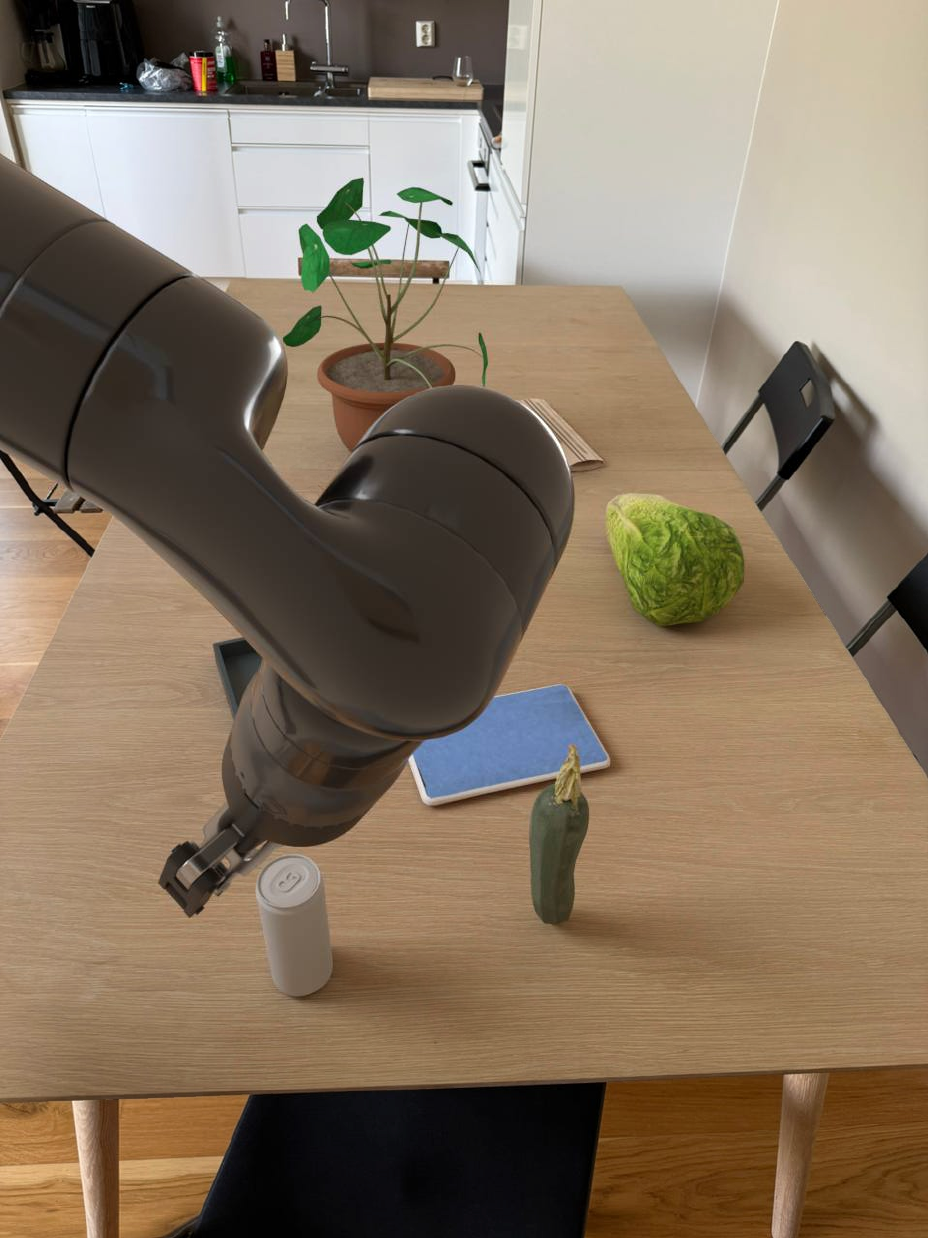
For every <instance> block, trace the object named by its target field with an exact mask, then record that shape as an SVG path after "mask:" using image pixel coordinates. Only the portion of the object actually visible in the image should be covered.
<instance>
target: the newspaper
mask: <svg viewBox="0 0 928 1238" xmlns="http://www.w3.org/2000/svg"><path fill="white" fill-rule="evenodd" d="M519 401H520V402H521V403H523V404H524V405H526V406H527V407H529V408H530V409H531V410H532V411H533V412H535V413H536V414H537V415H538V416H539V417H540V418H541V419H542V420H543V421H544V422H545V423H546V424H547V426H548V427H549V428H550V430H551V431H552V432H553V434H554V435H555V437H556V438H557V440H558V442H559V443H560V445H561V447H562V449H563V451H564V454H565V456H566V458H567V461H568V464H569V466H570V470H571V472H581V471H583V472H584V471H589V470H595V469H598V468H601V467H602V466H604V465H605V461H604V460H603V459H602V458H601V456H599V455H598V453H597V452H596V451H595V450H594V449H592V447H591V446H590V445H589V444H588V443H587V442H586V441H585V440H584V439H583V438H582V437H581V436H580V435H579V434H578V433H577V432H576V431H575V430H574V429H573V428H572V427H571V426H570V425H569V424H568V423H567V421H565V420H564V419H563V418H562V417H561V415H559V413H558V412H556V411H555V409H553V408H552V407H551V406H550V405H549V404H548V403H547V401H546V400H545V399H542V398H525V399H521V400H519Z"/></svg>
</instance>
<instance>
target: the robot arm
mask: <svg viewBox="0 0 928 1238" xmlns="http://www.w3.org/2000/svg"><path fill="white" fill-rule="evenodd" d="M285 349H286V348H285V346H284V343H283V341H282V339H280V337H279V335H278V334H277V332H276V331H275V330H274V329H273V328H272V326H271V325H270V324H269V323H268V322H267V321H266V320H265V319H264V318H262V316H260V315H259V314H258V313H256V312H255V311H254V310H252V309H251V308H250V307H248V306H247V305H246V304H245V303H243V302H241V301H240V300H238V299H236V297H233V296H232V295H231V294H229V293H228V292H226V291H225V290H223V289H221V288H220V287H218V286H217V285H215V284H214V283H211V282H210V281H208V280H207V279H205V278H203V277H201V275H198V274H197V273H195V272H194V271H192V270H190V269H189V268H187V267H185V266H183V265H182V264H180V263H179V262H177V261H175V260H173V258H170V257H169V256H167V255H165V254H164V253H162V252H161V251H159V250H157V249H156V248H154V247H153V246H150V245H149V244H148V243H146V242H144V241H143V240H141V239H139V238H138V237H136V236H134V234H131V233H130V232H128V231H127V230H125V229H124V228H121V227H120V226H118V225H116V224H115V223H114V222H112V221H110V220H109V219H107V218H105V217H103V216H102V215H101V214H99V213H97V212H95V211H93V210H92V209H91V208H89V207H87V206H85V205H84V204H82V203H80V202H79V201H78V200H76V199H74V198H72V197H71V196H69V195H67V194H65V193H64V192H63V191H61V190H59V189H58V188H56V187H54V186H53V185H51V184H50V183H48V182H46V181H44V180H43V179H41V178H40V177H38V176H36V175H35V174H33V173H31V172H30V171H28V170H27V169H25V168H24V167H23V166H21V165H19V164H18V163H16V162H14V161H13V160H12V159H10V158H8V157H7V156H5V155H4V154H2V153H0V451H1V452H3V453H5V454H6V455H8V456H10V457H12V458H14V459H15V460H17V461H19V462H20V463H22V464H23V465H25V466H27V467H29V468H31V469H32V470H35V471H36V472H37V473H39V474H41V475H42V476H44V477H46V478H48V479H49V480H51V481H52V482H55V483H57V484H58V485H60V486H61V487H63V488H65V489H66V490H68V491H70V492H72V493H74V494H76V495H77V496H79V497H81V498H82V499H84V500H85V501H87V502H89V503H91V504H93V505H94V506H95V507H98V508H100V509H101V510H103V511H105V512H106V513H108V514H109V515H111V517H113V518H115V520H117V521H119V522H120V523H121V524H122V525H123V526H125V527H126V528H127V529H128V530H129V531H131V532H132V533H133V534H134V535H136V536H137V537H138V538H139V539H140V540H141V541H142V542H143V543H144V544H146V545H147V546H148V548H150V549H151V550H152V551H153V552H154V553H155V554H157V556H158V557H160V558H161V559H162V560H163V561H164V562H165V563H167V565H169V567H171V568H172V569H173V570H175V572H176V573H178V575H180V576H181V577H182V578H183V579H184V580H185V581H186V582H187V583H188V584H189V585H191V586H192V588H194V589H195V590H196V591H197V592H198V593H199V594H200V595H201V596H202V597H203V598H204V599H205V600H206V601H207V602H209V604H210V605H211V606H212V607H213V608H214V609H215V610H216V611H217V612H218V613H219V614H220V615H221V616H222V617H223V618H224V619H225V621H227V622H228V623H229V624H230V625H231V626H232V627H233V628H234V630H235V631H237V632H238V633H239V635H240V636H241V637H243V638H244V639H245V640H246V641H247V642H248V643H249V644H250V645H251V646H252V647H253V648H254V649H255V650H256V651H257V652H258V654H259V655H260V656H261V657H262V660H261V662H260V665H259V668H258V670H257V672H256V673H255V675H254V676H253V678H252V679H251V681H250V682H249V684H248V686H247V688H246V690H245V692H244V694H243V696H242V699H241V702H240V705H239V708H238V711H237V714H236V717H235V720H233V723H232V726H231V729H230V732H229V735H228V738H227V742H226V745H225V747H224V751H223V754H222V755H223V756H222V761H221V780H222V786H223V791H224V796H225V799H226V801H225V802H224V803H223V804H222V806H221V807H219V809H218V810H217V811H216V812H215V813H214V814H213V816H211V818H210V819H209V820H208V821H207V822H206V823H205V824H204V825H203V828H202V833H203V836H204V839H203V840H202V842H200V844H199V845H198V844H197V843H196V842H195V840H191V841H189V840H186V841H184V842H183V843H178V844H177V845H176V846H174V847H173V848H172V850H170V852H171V854H169V855H168V857H167V858H166V861H165V864H164V865H163V869H162V872H161V873H160V876H159V878H158V882H157V884H158V885H159V886H160V887H161V888H162V890H165V891H166V892H167V894H169V895H170V897H171V898H172V899H173V900H174V901H175V902H176V903H177V905H178V906H179V907H180V908H181V910H183V911H182V912H183V914H185V916H187V917H188V918H189V919H191V918H192V917H193V916H194V915H196V916H198V915H199V914H201V912H202V911H204V910H205V907H204V906H205V905H207V903H209V901H210V899H211V897H212V896H213V894H214V895H215V897H218V898H219V897H220V896H221V895H222V894H223V893H225V891H227V890H228V889H229V888H230V887H231V884H232V882H233V881H234V880H235V878H237V876H238V875H240V876H245V877H246V876H249V875H250V874H251V873H252V872H254V871H255V870H256V869H257V868H258V867H260V866H261V865H263V863H264V862H265V861H266V860H267V859H268V858H269V857H270V856H271V855H272V854H273V853H274V852H275V850H277V849H278V848H282V847H284V846H285V847H291V848H309V847H317V846H321V845H324V844H327V843H329V842H333V841H335V840H336V839H339V838H340V837H342V836H344V835H346V833H348V832H350V831H351V830H352V829H353V828H355V826H357V824H358V823H359V822H360V821H361V820H362V819H363V818H364V816H366V814H368V812H369V811H370V810H371V809H372V808H373V807H374V806H375V805H376V804H377V803H378V802H379V801H380V800H381V798H382V797H383V796H384V795H385V794H386V793H387V792H388V791H389V790H390V789H391V788H392V786H393V785H394V784H395V782H396V781H397V780H398V779H399V778H400V776H401V774H402V772H403V771H404V770H405V768H406V766H407V765H408V763H409V761H408V760H409V758H410V757H411V755H412V754H413V753H414V752H415V751H416V750H417V749H418V748H419V747H420V745H421V744H422V743H423V742H424V741H425V740H431V739H438V738H443V737H445V736H448V735H451V734H453V733H456V732H458V731H460V730H463V729H464V728H466V727H467V726H469V725H470V724H471V723H473V722H474V721H475V720H476V719H477V718H478V717H479V716H480V715H481V714H482V713H483V712H484V710H485V709H486V708H487V706H488V705H489V703H490V702H491V700H492V699H493V698H494V697H495V696H496V694H497V693H498V691H499V688H500V686H501V685H502V682H503V680H504V679H505V677H506V675H507V673H508V670H509V668H510V666H511V664H512V662H513V660H514V658H515V656H516V653H517V652H518V649H519V647H520V644H521V642H522V641H523V638H524V636H525V635H526V632H527V630H528V628H529V626H530V623H531V621H532V619H533V618H534V615H535V613H536V611H537V609H538V606H539V604H540V602H541V601H542V598H543V596H544V594H545V592H546V590H547V588H548V586H549V584H550V580H551V579H552V578H553V576H554V573H555V572H556V570H557V567H558V565H559V563H560V562H561V559H562V557H563V555H564V552H565V550H566V548H567V545H568V542H569V540H570V536H571V533H572V529H573V524H574V517H575V510H576V496H575V495H576V494H575V484H574V483H575V482H574V478H573V474H572V471H571V470H570V466H569V464H568V461H567V458H566V456H565V454H564V451H563V449H562V447H561V445H560V443H559V442H558V440H557V438H556V437H555V435H554V434H553V432H552V431H551V430H550V428H549V427H548V426H547V424H546V423H545V422H544V421H543V420H542V419H541V418H540V417H539V416H538V415H537V414H536V413H535V412H533V411H532V410H531V409H530V408H529V407H527V406H526V405H524V404H523V403H521V402H520V400H518V399H516V398H515V397H512V396H511V395H509V394H506V393H504V392H501V391H499V390H496V389H493V388H489V387H486V386H485V387H483V386H480V385H470V384H453V385H448V386H439V387H435V388H430V389H426V390H423V391H420V392H417V393H415V394H413V395H411V396H408V397H407V398H405V399H403V400H401V401H400V402H398V403H397V404H395V405H394V406H392V407H391V408H389V409H388V410H387V411H386V412H385V413H383V414H382V415H381V416H380V417H379V418H378V419H377V420H376V421H375V422H374V423H373V424H372V426H371V427H370V428H369V429H368V430H367V432H366V433H365V434H364V436H363V437H362V438H361V440H360V441H359V442H358V444H357V445H356V447H355V448H354V449H353V451H352V452H350V453H349V455H348V456H347V457H346V459H345V460H344V462H343V463H342V464H341V466H340V467H339V469H338V470H337V471H336V473H335V474H334V476H333V477H332V478H331V480H330V481H329V482H328V484H327V485H326V486H325V488H324V489H323V491H322V492H321V494H319V496H318V497H317V499H316V501H315V502H314V503H312V502H311V501H308V500H307V499H305V498H304V497H303V496H301V495H300V494H299V493H298V492H297V491H296V490H294V489H293V488H292V486H290V485H289V483H288V482H286V480H285V479H284V478H283V477H282V476H281V474H280V473H279V472H278V471H277V470H276V468H275V467H274V465H273V464H272V463H271V462H270V460H269V458H268V457H267V456H266V455H265V452H264V449H265V447H266V444H267V442H268V440H269V437H270V436H271V433H272V431H273V428H274V426H275V424H276V422H277V419H278V416H279V413H280V410H281V408H282V404H283V401H284V399H285V394H286V389H287V384H288V376H289V375H288V374H289V366H288V357H287V353H286V350H285ZM262 844H263V845H262ZM261 845H262V846H261ZM259 846H261V847H260V848H259V849H258V848H257V847H259ZM224 859H226V860H227V861H228V863H229V867H228V868H227V866H226V865H224V863H223V862H222V861H223V860H224Z"/></svg>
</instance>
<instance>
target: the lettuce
mask: <svg viewBox="0 0 928 1238" xmlns="http://www.w3.org/2000/svg"><path fill="white" fill-rule="evenodd" d="M604 530H605V535H606V539H607V542H608V545H609V548H610V551H611V555H612V557H613V559H614V562H615V564H616V567H617V569H618V571H619V573H620V576H621V578H622V580H623V582H624V586H625V589H626V591H627V595H628V597H629V600H630V605H631V608H632V610H634V611H635V612H637V613H638V614H640V615H641V616H642V617H644V618H645V619H647V620H648V621H649V622H652V623H653V624H654V625H656V626H657V627H659V628H662V627H667V626H673V625H679V624H693V623H695V624H696V623H700V622H702V621H705V620H707V619H709V618H712V617H714V616H717V615H718V614H720V613H721V611H722V610H723V609H724V608H726V607H727V605H728V604H730V603H731V601H732V600H733V599H734V597H735V596H736V595H737V593H738V592H739V591H740V589H741V588H742V586H743V585H744V583H745V556H744V550H743V546H742V544H741V542H740V539H739V538H738V535H737V533H736V531H735V528H733V527H732V526H731V525H729V524H727V523H726V522H724V521H723V520H721V519H720V518H718V517H716V516H715V515H712V514H709V513H707V512H704V511H699V510H696V509H693V508H691V507H689V506H686V505H683V504H680V503H676V502H673V501H672V500H670V499H669V498H667V497H665V496H663V494H662V495H661V494H653V493H633V492H632V493H631V492H628V493H625V494H621V493H619V494H617V495H616V496H615V497H614V498H613V499H611V500H610V501H608V502H607V507H606V510H605V514H604Z"/></svg>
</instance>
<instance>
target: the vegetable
mask: <svg viewBox="0 0 928 1238" xmlns="http://www.w3.org/2000/svg"><path fill="white" fill-rule="evenodd" d="M569 748H570V750H569V753H568V755H569V757H568V758H567V759H566V761H564V762H563V763H562V766H561V769H560V771H559V772H558V774H557V777H556V780H555V783H552V784H549V785H547V786H546V787H544V788H543V789H541V792H539V794H538V795H537V796H536V798H535V800H534V802H533V804H532V808H531V811H530V812H531V813H530V818H529V819H530V820H529V828H528V842H529V843H528V844H529V859H530V860H529V861H530V862H529V863H530V864H529V868H530V878H529V879H530V881H529V882H530V895H531V901H532V905H533V909H534V912H535V914H536V915H537V917H538V918H539V919H540V920H541V921H542V923H543V924H545V925H553V926H559V925H562V924H563V923H565V922H568V921H569V920H570V917H571V915H572V912H573V909H574V903H575V895H576V887H575V870H576V863H577V859H578V857H579V855H580V851H581V850H582V849H581V848H582V846H583V843H584V841H585V838H586V836H587V832H588V829H589V823H590V806H589V803H588V800H587V798H586V797H585V795H584V793H583V792H582V779H581V773H580V762H579V761H580V758H579V756H578V751H577V747H576V746H575V745H572V744H570V745H569Z"/></svg>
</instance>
